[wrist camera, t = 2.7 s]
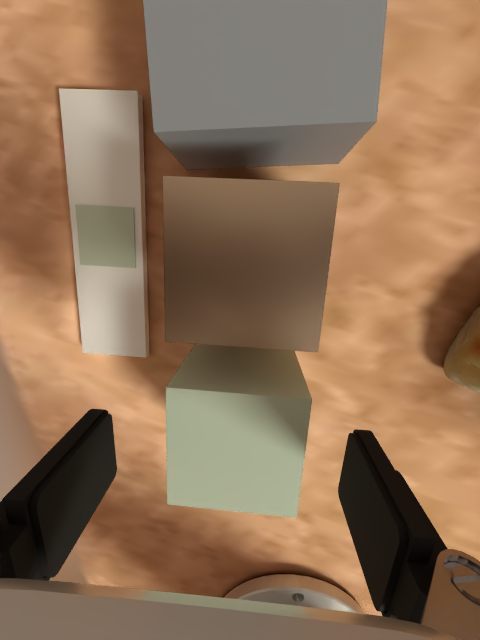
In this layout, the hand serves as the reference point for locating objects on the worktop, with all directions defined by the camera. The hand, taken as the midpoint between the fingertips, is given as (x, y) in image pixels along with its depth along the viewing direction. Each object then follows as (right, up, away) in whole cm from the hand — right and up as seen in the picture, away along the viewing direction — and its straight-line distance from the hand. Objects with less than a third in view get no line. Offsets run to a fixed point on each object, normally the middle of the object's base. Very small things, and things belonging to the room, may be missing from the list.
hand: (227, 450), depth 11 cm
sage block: (+1, +1, +7) cm, 7 cm away
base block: (+2, +17, +3) cm, 17 cm away
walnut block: (+1, +8, +5) cm, 10 cm away
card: (-7, +10, +5) cm, 13 cm away
